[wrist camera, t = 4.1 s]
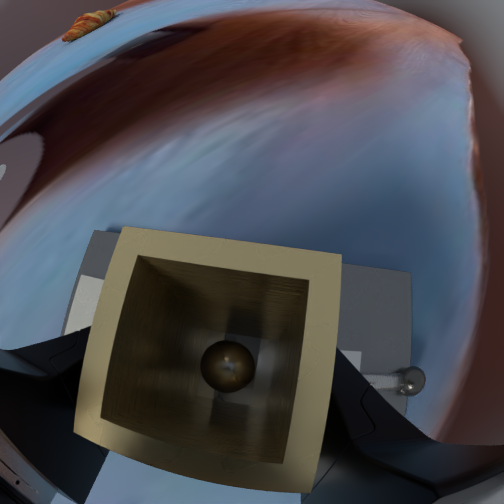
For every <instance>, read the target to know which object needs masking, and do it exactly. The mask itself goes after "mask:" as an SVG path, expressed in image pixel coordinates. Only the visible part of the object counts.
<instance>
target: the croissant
mask: <svg viewBox="0 0 504 504" xmlns="http://www.w3.org/2000/svg"><path fill="white" fill-rule="evenodd" d="M116 13H117V12H116V10H113V11H112V10H106V11H96V12H94V13H87V14H84V15H82V16H80V17H79V18H77V20H76V21H75V22H74V25H73V26H72V27H71V28H70V31H68V32H67V33H66V34H65V36H64V37H63V38H62V41H64V42H66V41H72V40H74V39H77V38H80V37H82V36H84V35H85V34H87V33H90V32H92V31H93V30H95V29H97V28H98V27H100V26H102V25H103V24H105V23H106V22H107V21H109V20H110V19H111V18H112V17H114V16H115V15H116Z"/></svg>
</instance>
